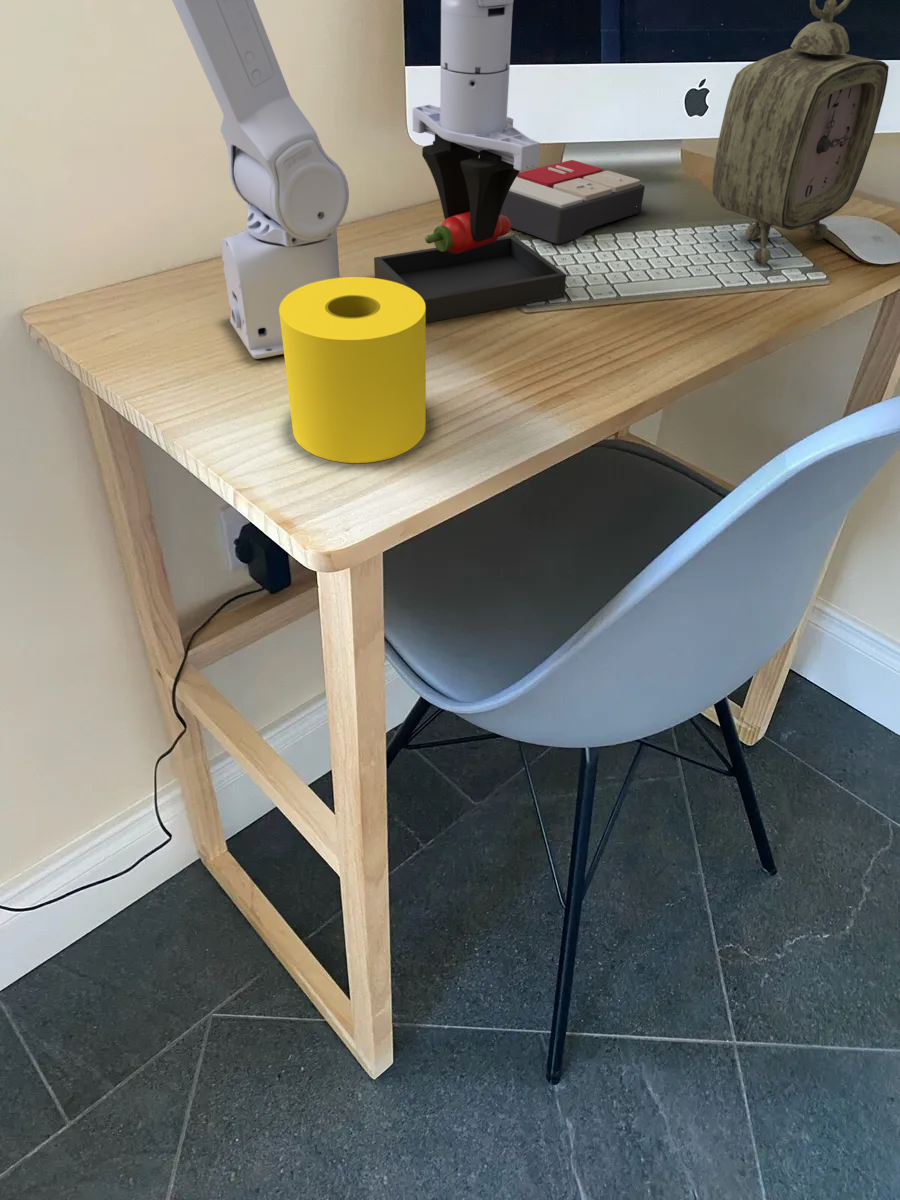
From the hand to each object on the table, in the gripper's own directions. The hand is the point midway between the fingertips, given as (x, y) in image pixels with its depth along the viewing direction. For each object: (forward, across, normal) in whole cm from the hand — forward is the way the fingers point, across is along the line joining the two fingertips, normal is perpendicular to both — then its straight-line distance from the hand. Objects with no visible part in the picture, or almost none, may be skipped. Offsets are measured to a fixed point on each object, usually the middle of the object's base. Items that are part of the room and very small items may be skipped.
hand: (470, 232), depth 84 cm
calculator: (+6, +8, -21) cm, 24 cm away
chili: (+1, 0, 0) cm, 1 cm away
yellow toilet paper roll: (+5, -14, +23) cm, 27 cm away
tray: (+5, 0, 0) cm, 5 cm away
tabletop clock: (+6, -11, -33) cm, 35 cm away
